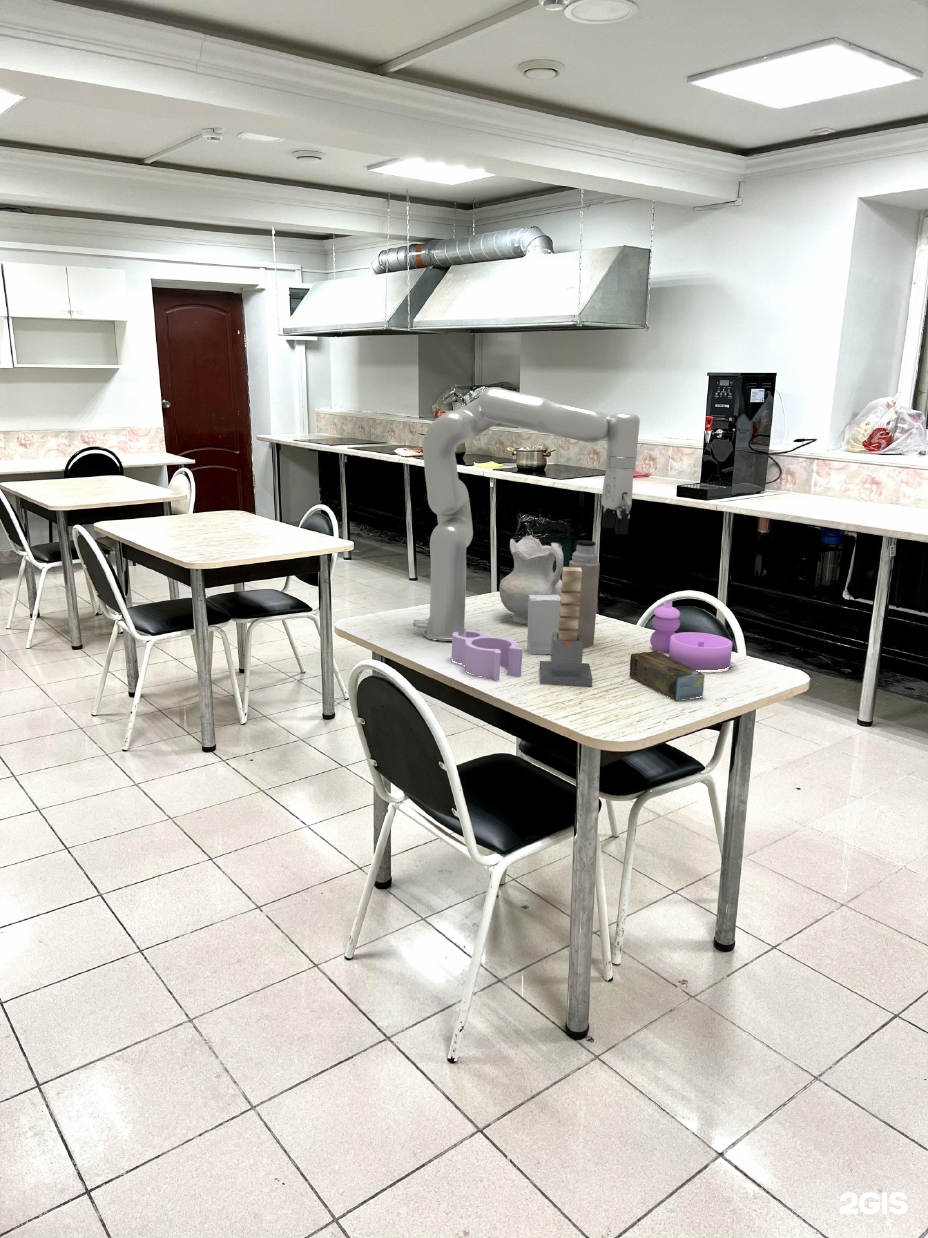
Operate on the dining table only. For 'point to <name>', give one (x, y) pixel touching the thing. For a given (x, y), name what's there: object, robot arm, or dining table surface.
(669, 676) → the beverage carton
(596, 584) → the thermos bottle
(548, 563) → the ceramic pitcher
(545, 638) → the skincare box
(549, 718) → the dining table surface
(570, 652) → the sleeve base
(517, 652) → the clip
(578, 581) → the post
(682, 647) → the container set
